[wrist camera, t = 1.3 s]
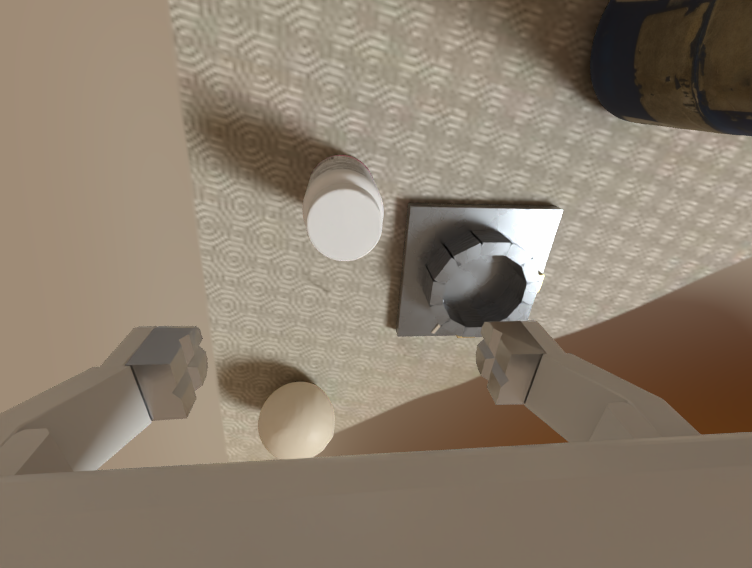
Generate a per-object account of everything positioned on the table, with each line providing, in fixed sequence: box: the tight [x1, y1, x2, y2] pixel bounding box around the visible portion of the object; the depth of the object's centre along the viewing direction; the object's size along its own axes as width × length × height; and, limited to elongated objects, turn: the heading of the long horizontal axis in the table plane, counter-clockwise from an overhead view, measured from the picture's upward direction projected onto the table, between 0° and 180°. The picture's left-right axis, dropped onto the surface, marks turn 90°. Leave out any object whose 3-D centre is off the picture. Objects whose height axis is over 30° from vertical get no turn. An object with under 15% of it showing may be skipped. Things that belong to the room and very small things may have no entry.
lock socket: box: [396, 203, 563, 338], centre depth 28 cm, size 12×12×4 cm
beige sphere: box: [258, 382, 335, 459], centre depth 32 cm, size 7×7×7 cm
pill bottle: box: [303, 155, 384, 261], centre depth 22 cm, size 5×5×8 cm
